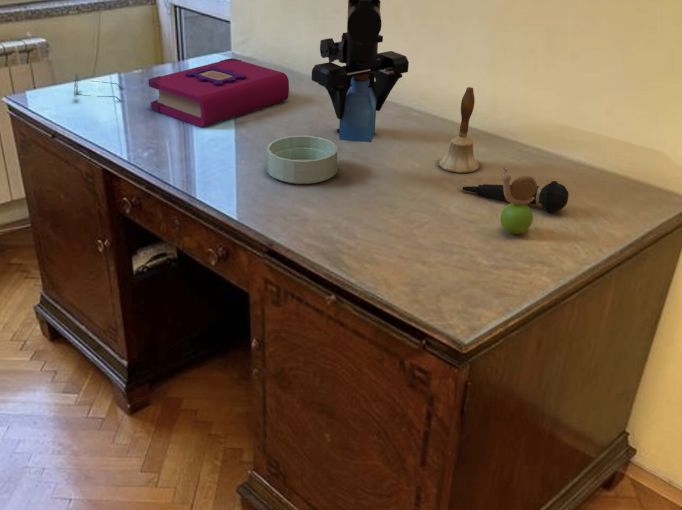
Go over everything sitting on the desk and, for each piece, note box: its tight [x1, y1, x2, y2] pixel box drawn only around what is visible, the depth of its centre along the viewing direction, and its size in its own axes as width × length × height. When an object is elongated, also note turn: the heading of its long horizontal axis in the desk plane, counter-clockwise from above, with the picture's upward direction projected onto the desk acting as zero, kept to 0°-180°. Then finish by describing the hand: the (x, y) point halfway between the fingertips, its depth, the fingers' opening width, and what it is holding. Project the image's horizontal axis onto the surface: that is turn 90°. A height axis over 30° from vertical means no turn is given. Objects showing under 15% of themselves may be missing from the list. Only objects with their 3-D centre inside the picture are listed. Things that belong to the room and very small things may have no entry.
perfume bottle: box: [338, 72, 377, 143], centre depth 147 cm, size 6×6×12 cm
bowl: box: [266, 135, 339, 185], centre depth 156 cm, size 14×14×5 cm
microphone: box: [461, 180, 570, 214], centre depth 145 cm, size 6×6×20 cm
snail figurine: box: [500, 166, 538, 235], centre depth 132 cm, size 5×6×12 cm
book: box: [147, 58, 290, 128], centre depth 190 cm, size 21×28×8 cm
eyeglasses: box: [73, 72, 122, 102], centre depth 196 cm, size 11×13×5 cm
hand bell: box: [438, 86, 480, 174], centre depth 156 cm, size 8×8×16 cm
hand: (358, 114), depth 148 cm, fingers closed on perfume bottle, 9 cm apart
